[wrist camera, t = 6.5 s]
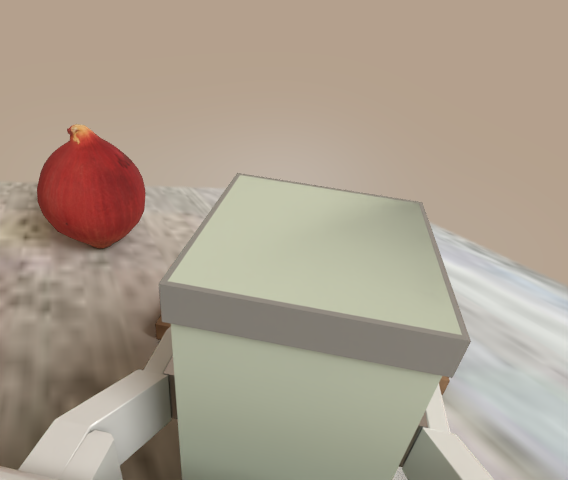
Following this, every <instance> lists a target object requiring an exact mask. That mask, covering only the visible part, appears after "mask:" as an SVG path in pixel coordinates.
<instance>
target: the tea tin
mask: <svg viewBox="0 0 568 480" xmlns="http://www.w3.org/2000/svg"><path fill="white" fill-rule="evenodd" d="M159 293H160V305H161V316H162V322H165V323H170V324H171V335H172V349H173V362H174V376H175V390H176V403H177V417H178V431H179V444H180V458H181V472H182V480H392V479H393V477H394V475H395V473H396V471H397V469H398V467H399V464H400V462H401V460H402V458H403V456H404V454H405V452H406V450H407V448H408V446H409V444H410V442H411V440H412V438H413V435H414V433H415V431H416V429H417V427H418V425H419V423H420V421H421V419H422V417H423V415H424V413H425V411H426V409H427V407H428V404H429V402H430V400H431V398H432V396H433V394H434V392H435V390H436V388H437V386H438V384H439V382H440V380H441V378H442V376H446V377H451V378H452V377H453V375H454V373H455V371H456V370H457V368H458V366H459V364H460V362H461V360H462V358H463V356H464V354H465V352H466V350H467V348H468V346H469V344H470V342H471V341H470V338H469V335H468V332H467V329H466V326H465V324H464V321H463V318H462V315H461V312H460V309H459V306H458V303H457V301H456V298H455V295H454V292H453V289H452V286H451V283H450V281H449V278H448V275H447V272H446V269H445V266H444V263H443V261H442V258H441V255H440V252H439V249H438V246H437V243H436V241H435V238H434V235H433V232H432V229H431V226H430V223H429V220H428V218H427V215H426V212H425V209H424V206H423V203H422V202H417V201H410V200H404V199H398V198H392V197H385V196H379V195H373V194H366V193H360V192H354V191H348V190H341V189H335V188H328V187H322V186H316V185H309V184H303V183H297V182H290V181H284V180H278V179H271V178H264V177H258V176H252V175H246V174H240V173H237V174H236V176H235V177H234V178H233V180H232V181H231V183H230V184H229V186H228V187H227V188H226V190H225V191H224V193H223V194H222V195H221V197H220V198H219V200H218V201H217V202H216V204H215V205H214V207H213V208H212V209H211V211H210V212H209V214H208V215H207V216H206V218H205V219H204V221H203V222H202V224H201V225H200V226H199V228H198V229H197V231H196V232H195V233H194V235H193V236H192V238H191V239H190V240H189V242H188V243H187V245H186V246H185V247H184V249H183V250H182V252H181V253H180V254H179V256H178V257H177V259H176V260H175V262H174V263H173V264H172V266H171V267H170V269H169V270H168V271H167V273H166V274H165V276H164V277H163V278H162V280H161V281H160V283H159Z"/></svg>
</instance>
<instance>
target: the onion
mask: <svg viewBox="0 0 568 480" xmlns="http://www.w3.org/2000/svg"><path fill="white" fill-rule="evenodd" d="M67 131H68V133H69V134H70V141H68V142H67V143H65V144H64V145H62V146H61V147H60V148H58V149H57V150H56V151H55V152H53V153H52V155H51V156H50V157H49V158H48V160H47V161H46V163H45V164H44V166H43V168H42V171H41V173H40V178H39V183H38V187H37V196H38V203H39V206H40V208H41V211H42V213H43V215H44V216H45V218H46V219H47V220H48V221H49V222H50V223H51V225H52V226H53V227H54V228H55V229H56V230H57V231H58V232H60V233H62V234H64V235H66V236H68V237H70V238H73V239H75V240H78V241H80V242H83V243H86V244H89V245H91V246H93V247H96V248H106V247H108V246H111V245H112V244H113V243H115V242H117V241H119V240H120V239H122V238H123V237H125V236H126V235H127V234H128V233H129V232H130V231H131V230H132V229H133V228H134V227H135V226H136V224H137V223H138V222H139V220H140V218H141V216H142V214H143V212H144V206H145V187H144V182H143V178H142V176H141V174H140V172H139V170H138V168H137V167H136V166H135V164H134V163H133V162H132V161H131V160H130V159H129V158H128V157H127V156H126V155H125V154H124V153H123V152H121V151H120V150H119V149H118V148H116V147H115V146H113V145H112V144H110V143H108V142H107V141H105V140H103V139H101V138H100V137H98V136H97V135H96V134H95V133H94V132H92V131H91V130H90V129H89V128H87V127H86V126H85V125H79V124H75V125H73V126H71V127H70V128H69V129H67Z"/></svg>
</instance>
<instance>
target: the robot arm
mask: <svg viewBox="0 0 568 480" xmlns="http://www.w3.org/2000/svg"><path fill="white" fill-rule="evenodd" d="M171 418H173V419H178V417H177V403H176V390H175V376H174V362H173V349H172V335H171V327H170V328H168V329H167V330H166V332H165V334H164V335H163V337H162V339H161V341H160V342H159V344H158V346H157V347H156V349H155V351H154V352H153V354H152V356H151V358H150V359H149V361H148V363H147V364H146V366H145V368H144V370H140V369H138V370H136V371H134V372H133V373H131V374H129V375H128V376H126V377H124V378H123V379H121V380H119V381H118V382H116V383H114V384H113V385H111V386H109V387H108V388H106V389H104V390H103V391H101V392H99V393H98V394H96V395H95V396H93V397H91V398H90V399H88V400H86V401H85V402H83V403H81V404H80V405H78V406H76V407H75V408H73V409H71V410H70V411H68V412H66V413H65V414H63V415H61V416H60V417H58V418H56V419H55V420H54V421H53V423H52V424H51V425H50V427H49V428H48V430H47V431H46V432H45V434H44V435H43V436H42V438H41V439H40V440H39V442H38V443H37V445H36V446H35V447H34V449H33V450H32V451H31V453H30V454H29V455H28V457H27V458H26V460H25V461H24V462H23V464H22V465H21V466H20V468H19V469H18V470H16V469H12V468H8V467H3V466H0V480H123V478H122V474H121V469H120V465H121V464H122V463H123V462H124V461H126V460H127V459H128V458H129V457H130V456H131V455H132V454H134V453H135V452H136V451H137V450H138V449H139V448H140V447H142V446H143V445H144V444H145V443H146V442H147V441H148V440H150V439H151V438H152V437H153V436H154V435H155V434H156V433H157V432H159V431H160V430H161V429H162V428H163V427H164V426H165V425H167V424H168V423H169V422H170V421H171ZM399 467H403V468H402V470H403V472H404V473H405V475H406V477H407V479H408V480H494V479H493V478H492V477H491V475H490V474H489V473H488V472H487V471H486V469H485V468H484V467H483V466H482V465H481V463H480V462H479V461H478V460H477V459H476V457H475V456H474V455H473V454H472V453H471V451H470V450H469V449H468V448H467V447H466V445H465V444H464V443H463V442H462V441H461V439H460V438H459V437H458V436H457V435H456V434H453V433H450V429H449V425H448V420H447V416H446V412H445V408H444V403H443V399H442V395H441V390H440V386H439V384H438V386H437V388H436V390H435V392H434V394H433V396H432V398H431V400H430V402H429V404H428V407H427V409H426V411H425V413H424V415H423V417H422V419H421V421H420V423H419V425H418V427H417V429H416V431H415V433H414V435H413V438H412V440H411V442H410V444H409V446H408V448H407V450H406V452H405V454H404V456H403V458H402V460H401V462H400V464H399Z"/></svg>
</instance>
